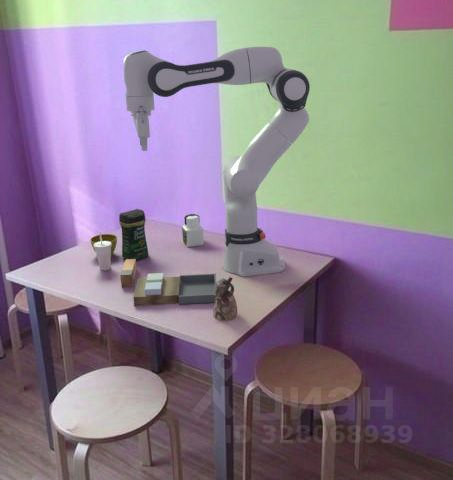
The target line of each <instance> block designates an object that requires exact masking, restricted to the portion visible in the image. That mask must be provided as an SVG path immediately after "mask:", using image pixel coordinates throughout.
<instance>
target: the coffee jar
mask: <svg viewBox="0 0 453 480" xmlns="http://www.w3.org/2000/svg"><path fill="white" fill-rule="evenodd" d="M145 215H146V214H145V211H144V210H142V209H140V208H135V209H132V210H128V211H124V212H120V213H119V215H118V217H119V221H118V222H119V225H120V228H121V240H122V241H121V255H122V258H123V259H124V260H126V259H136V261H138V260H141V259H143V258H146V257H147V256H148V255H149V249H148V243H147V238H146V229H145V226H146V216H145Z"/></svg>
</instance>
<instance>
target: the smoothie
mask: <svg viewBox="0 0 453 480" xmlns="http://www.w3.org/2000/svg"><path fill="white" fill-rule="evenodd" d="M101 234H102V232H101V231H100V232H99V235H100V242H96V243H95V244H94V248H95V251H96V252H95V251H94V252H95V254H96V259H97V262H98V265H99V269H100V271H105V272H106V271H109V270H111V268H112V267H111V263H112V261H111V259H112V256H111V246H112V244H111V242H109V241H102V237H101Z"/></svg>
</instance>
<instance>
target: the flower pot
mask: <svg viewBox="0 0 453 480" xmlns="http://www.w3.org/2000/svg"><path fill="white" fill-rule="evenodd" d="M101 237H102V241H109V242H111V244H112V246H111V257H112V256H113V254H114V253H115V250H116V247H117V244H118V243H117V242H118V236H117V235H115V234H112V233H111V234H110V233H101ZM96 242H100V234H97V235H93V236H92V237H91V238H90V244H91V247H92V249H93V251H94V252H95V253H96V251H95V248H94V244H95V243H96Z"/></svg>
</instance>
